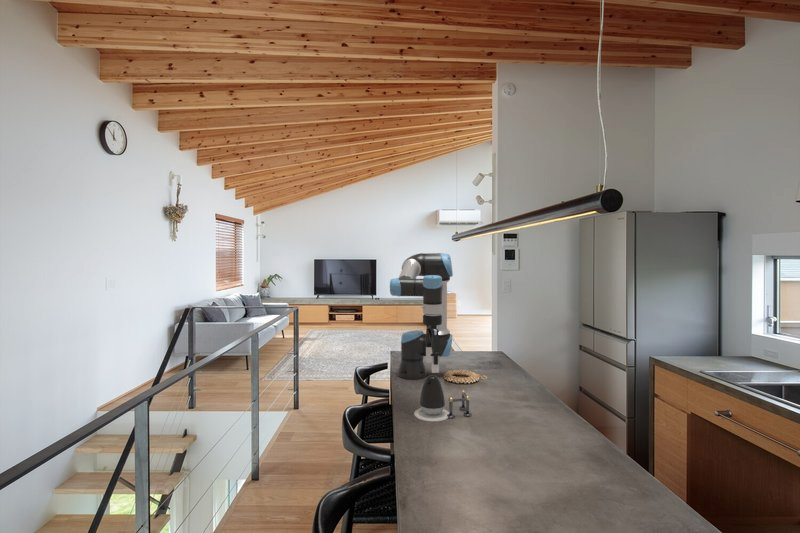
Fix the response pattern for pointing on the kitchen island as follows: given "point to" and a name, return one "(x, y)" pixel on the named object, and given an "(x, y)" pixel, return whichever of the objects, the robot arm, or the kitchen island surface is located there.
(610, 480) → the kitchen island surface
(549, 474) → the kitchen island surface
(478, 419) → the kitchen island surface
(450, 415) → the metal corner railing
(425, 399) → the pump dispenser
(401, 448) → the kitchen island surface
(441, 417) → the coaster
